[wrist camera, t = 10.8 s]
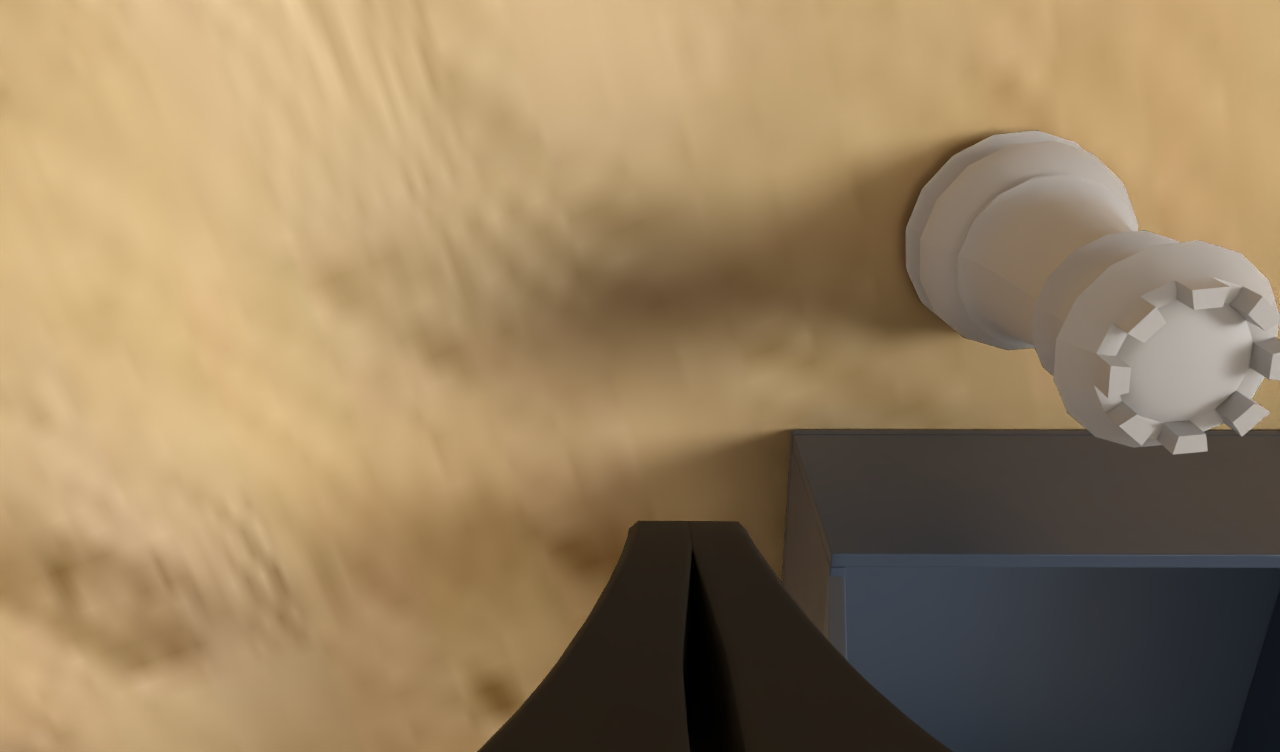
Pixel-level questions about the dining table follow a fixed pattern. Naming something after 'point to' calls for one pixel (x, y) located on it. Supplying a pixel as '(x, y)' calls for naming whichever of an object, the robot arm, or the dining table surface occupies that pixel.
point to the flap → (836, 614)
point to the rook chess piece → (1093, 292)
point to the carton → (1049, 583)
